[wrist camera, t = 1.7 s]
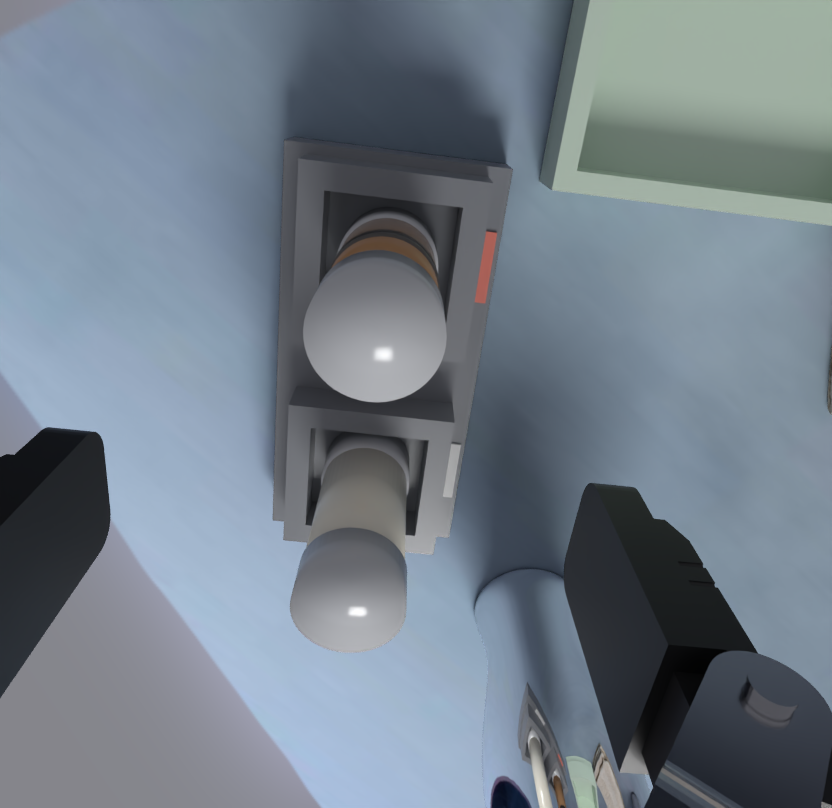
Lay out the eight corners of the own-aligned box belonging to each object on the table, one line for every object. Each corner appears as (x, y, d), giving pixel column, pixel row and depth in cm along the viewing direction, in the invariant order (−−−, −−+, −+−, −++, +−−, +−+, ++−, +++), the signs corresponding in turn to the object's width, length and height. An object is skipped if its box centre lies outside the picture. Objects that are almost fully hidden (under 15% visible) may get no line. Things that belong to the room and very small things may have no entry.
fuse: (414, 429, 31) (412, 569, 22) (404, 500, 32) (399, 657, 23) (329, 420, 30) (292, 558, 21) (324, 492, 32) (288, 647, 23)
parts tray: (938, -57, 24) (1001, -75, 21) (832, 218, 28) (874, 231, 26) (594, -108, 23) (616, -134, 21) (539, 181, 28) (551, 190, 25)
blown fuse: (443, 213, 26) (456, 275, 17) (430, 307, 28) (436, 409, 19) (344, 201, 26) (306, 257, 17) (338, 297, 28) (300, 394, 19)
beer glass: (495, 546, 36) (541, 818, 23) (607, 581, 37) (715, 861, 24) (448, 634, 39) (465, 923, 25) (553, 664, 40) (623, 957, 26)
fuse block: (506, 164, 27) (520, 174, 24) (447, 514, 35) (450, 563, 32) (293, 136, 27) (273, 143, 23) (280, 498, 35) (264, 545, 31)
